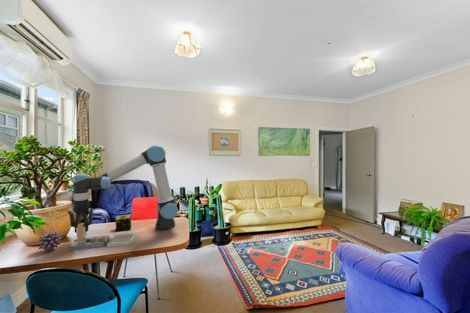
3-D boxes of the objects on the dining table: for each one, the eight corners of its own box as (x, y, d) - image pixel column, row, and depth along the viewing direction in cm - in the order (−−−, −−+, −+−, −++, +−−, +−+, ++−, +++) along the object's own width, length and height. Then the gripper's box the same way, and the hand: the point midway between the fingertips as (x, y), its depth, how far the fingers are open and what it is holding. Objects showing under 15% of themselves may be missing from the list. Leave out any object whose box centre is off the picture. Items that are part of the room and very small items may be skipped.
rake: (86, 242, 134) (86, 221, 134) (82, 245, 128) (82, 224, 129) (80, 242, 133) (80, 222, 133) (77, 246, 128) (76, 225, 128)
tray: (135, 236, 146) (135, 232, 146) (130, 245, 131) (130, 240, 131) (114, 239, 143) (114, 234, 143) (107, 248, 127) (107, 243, 127)
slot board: (114, 239, 142) (114, 234, 142) (108, 248, 128) (107, 242, 128) (80, 243, 136) (80, 237, 136) (69, 252, 123) (69, 246, 123)
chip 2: (108, 241, 136) (107, 235, 136) (106, 243, 132) (105, 237, 132) (101, 242, 135) (101, 235, 135) (98, 244, 131) (98, 238, 131)
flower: (39, 257, 118) (39, 235, 118) (34, 251, 125) (34, 231, 125) (65, 249, 127) (64, 230, 127) (59, 245, 134) (59, 226, 134)
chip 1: (100, 242, 135) (100, 236, 135) (97, 244, 131) (97, 238, 131) (93, 243, 134) (93, 236, 134) (90, 245, 130) (90, 239, 130)
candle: (131, 226, 169) (131, 214, 169) (130, 230, 160) (130, 217, 160) (116, 228, 165) (116, 215, 165) (115, 232, 156) (115, 219, 156)
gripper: (98, 197, 137) (98, 233, 136) (69, 199, 132) (69, 236, 132) (93, 199, 129) (94, 237, 129) (62, 201, 125) (63, 241, 125)
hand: (81, 237), depth 131 cm, fingers closed on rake, 3 cm apart
